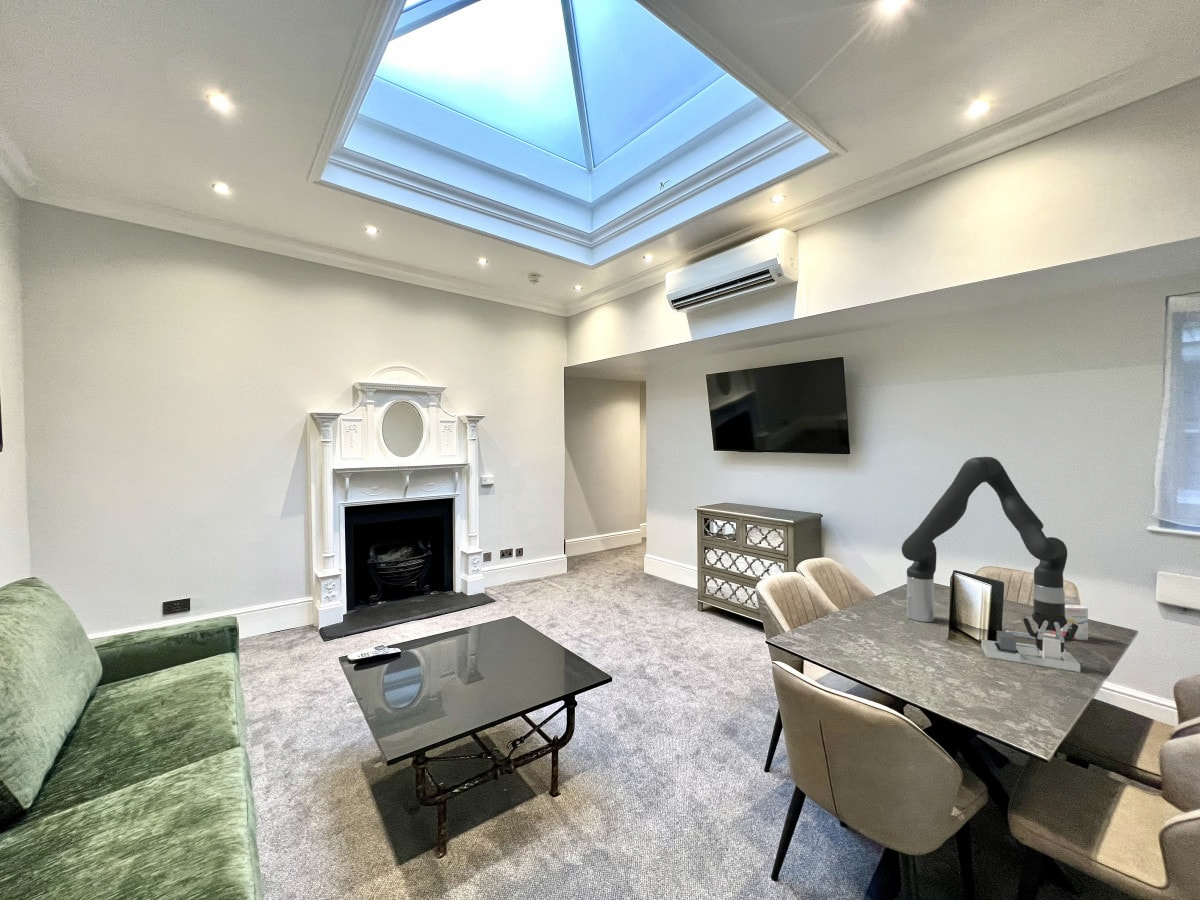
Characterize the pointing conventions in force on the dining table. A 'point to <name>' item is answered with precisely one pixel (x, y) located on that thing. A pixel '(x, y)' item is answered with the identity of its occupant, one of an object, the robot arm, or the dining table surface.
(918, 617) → the robot arm
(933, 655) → the dining table surface
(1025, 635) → the tray
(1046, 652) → the plug
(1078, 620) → the ink cartridge box
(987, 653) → the grey fixture base
